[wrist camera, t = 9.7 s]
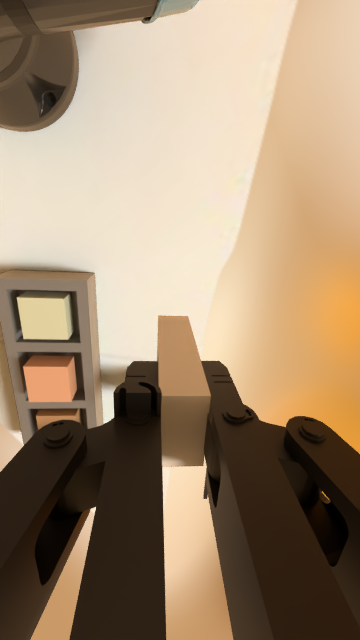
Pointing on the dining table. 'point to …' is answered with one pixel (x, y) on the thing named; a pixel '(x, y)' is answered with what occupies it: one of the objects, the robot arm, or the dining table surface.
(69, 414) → the walnut key
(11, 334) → the key panel
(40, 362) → the terracotta key
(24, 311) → the cream square block
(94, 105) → the dining table surface
